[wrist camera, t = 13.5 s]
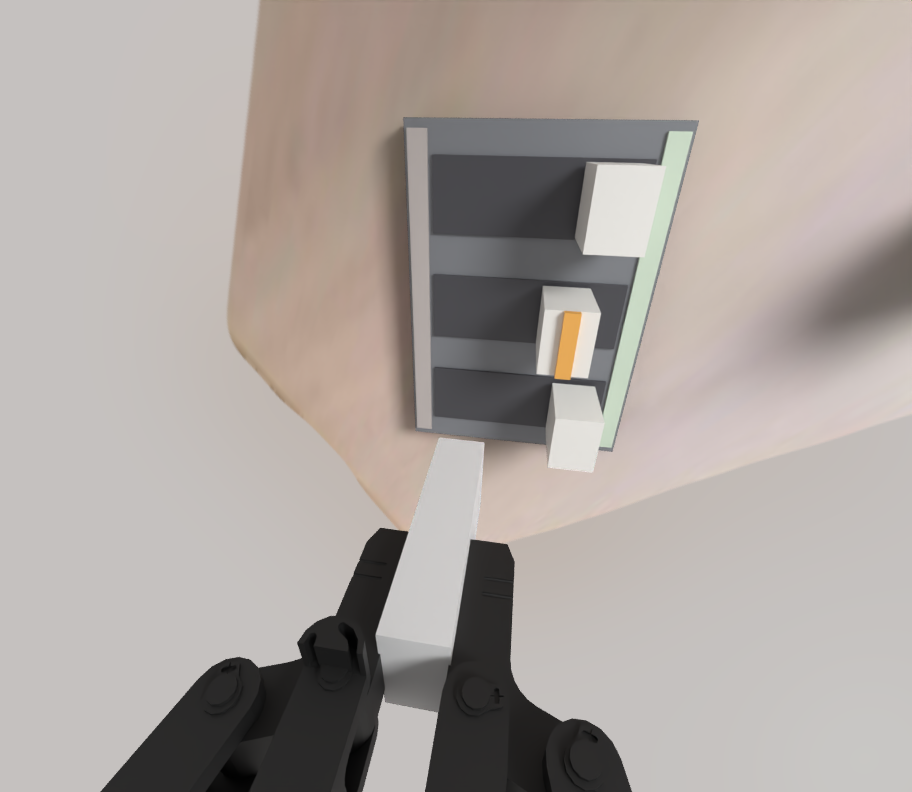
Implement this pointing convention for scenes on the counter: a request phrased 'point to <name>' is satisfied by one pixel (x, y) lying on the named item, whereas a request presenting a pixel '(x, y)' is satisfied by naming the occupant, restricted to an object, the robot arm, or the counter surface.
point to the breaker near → (618, 208)
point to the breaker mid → (566, 332)
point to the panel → (521, 263)
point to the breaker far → (573, 427)
